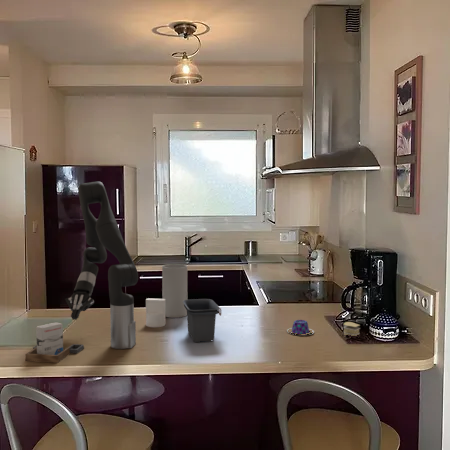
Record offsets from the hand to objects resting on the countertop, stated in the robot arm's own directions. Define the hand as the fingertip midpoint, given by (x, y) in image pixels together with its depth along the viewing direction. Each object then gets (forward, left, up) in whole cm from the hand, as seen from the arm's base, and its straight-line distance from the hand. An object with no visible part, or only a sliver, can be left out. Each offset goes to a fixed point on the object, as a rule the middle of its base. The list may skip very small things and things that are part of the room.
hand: (74, 318), depth 202 cm
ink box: (+1, +20, -9) cm, 22 cm away
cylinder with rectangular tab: (-28, -27, -9) cm, 40 cm away
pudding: (-95, -24, -9) cm, 98 cm away
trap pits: (0, +14, -9) cm, 16 cm away
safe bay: (0, +22, -9) cm, 23 cm away
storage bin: (-53, -12, -9) cm, 55 cm away
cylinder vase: (-33, -45, -9) cm, 56 cm away
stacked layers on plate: (-116, -22, -9) cm, 119 cm away
